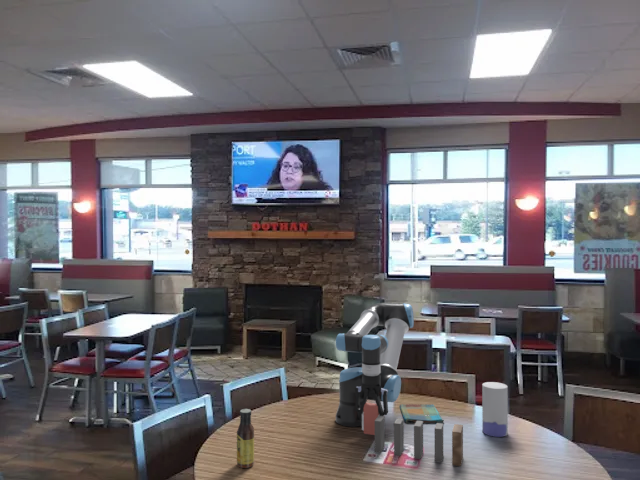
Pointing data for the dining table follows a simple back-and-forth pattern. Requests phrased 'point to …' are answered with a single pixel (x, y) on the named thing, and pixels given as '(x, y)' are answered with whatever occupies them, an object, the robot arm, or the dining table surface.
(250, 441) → the sauce bottle
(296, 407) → the dining table surface
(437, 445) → the domino
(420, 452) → the domino
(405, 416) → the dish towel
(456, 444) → the end stop
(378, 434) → the domino
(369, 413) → the red domino
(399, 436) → the domino
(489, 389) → the container
